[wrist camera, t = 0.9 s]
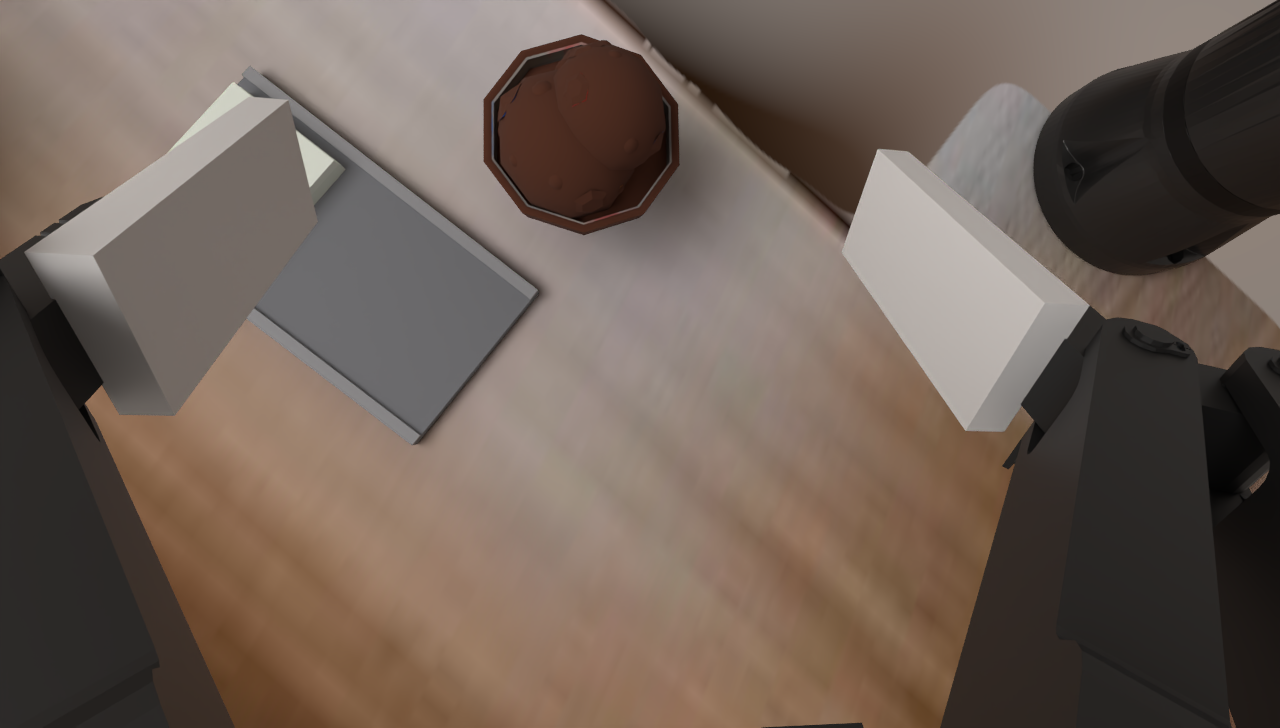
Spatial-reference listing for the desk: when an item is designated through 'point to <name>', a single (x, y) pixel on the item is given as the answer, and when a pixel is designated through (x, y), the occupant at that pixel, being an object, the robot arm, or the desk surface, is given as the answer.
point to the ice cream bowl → (581, 134)
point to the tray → (386, 290)
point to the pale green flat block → (316, 161)
